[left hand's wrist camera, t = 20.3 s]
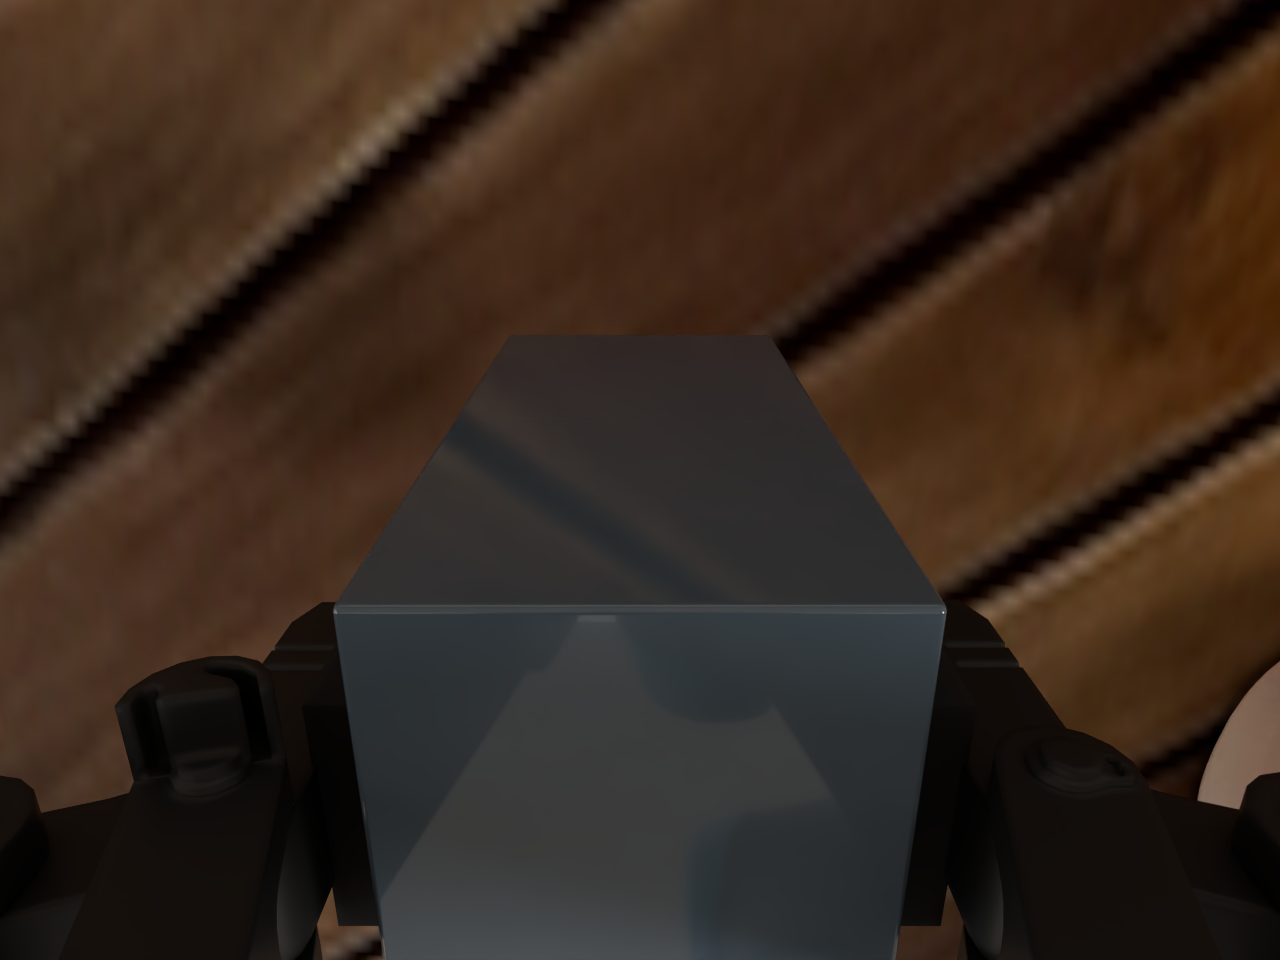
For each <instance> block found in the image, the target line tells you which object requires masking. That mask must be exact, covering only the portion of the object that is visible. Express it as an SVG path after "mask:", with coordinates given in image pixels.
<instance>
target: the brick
mask: <svg viewBox="0 0 1280 960" xmlns="http://www.w3.org/2000/svg"><path fill="white" fill-rule="evenodd" d="M946 614H947V609H946V606H945V603H944V602H943V600H942V599H941V597H940V596H939V594H938V593H937V591H936V590H935V588H934V587H933V585H932V584H931V582H930V581H929V579H928V577H927V576H926V574H925V573H924V571H923V570H922V568H921V567H920V565H919V564H918V562H917V561H916V559H915V558H914V556H913V555H912V553H911V551H910V550H909V548H908V547H907V545H906V544H905V542H904V541H903V539H902V538H901V536H900V535H899V533H898V532H897V530H896V529H895V527H894V525H893V524H892V522H891V521H890V519H889V518H888V516H887V515H886V513H885V512H884V510H883V509H882V507H881V506H880V504H879V503H878V501H877V500H876V498H875V496H874V495H873V493H872V492H871V490H870V489H869V487H868V486H867V484H866V483H865V481H864V480H863V478H862V477H861V475H860V474H859V472H858V470H857V469H856V467H855V466H854V464H853V463H852V461H851V460H850V458H849V457H848V455H847V454H846V452H845V451H844V449H843V448H842V446H841V444H840V443H839V441H838V440H837V438H836V437H835V435H834V434H833V432H832V431H831V429H830V428H829V426H828V425H827V423H826V422H825V420H824V418H823V417H822V415H821V414H820V412H819V411H818V409H817V408H816V406H815V405H814V403H813V402H812V400H811V399H810V397H809V396H808V394H807V392H806V391H805V389H804V388H803V386H802V385H801V383H800V382H799V380H798V379H797V377H796V376H795V374H794V373H793V371H792V370H791V368H790V366H789V365H788V363H787V362H786V360H785V359H784V357H783V356H782V354H781V353H780V351H779V350H778V348H777V347H776V345H775V344H774V342H773V340H772V339H771V337H770V336H767V335H512V336H509V338H508V339H507V341H506V342H505V344H504V345H503V347H502V348H501V350H500V351H499V353H498V355H497V356H496V358H495V359H494V361H493V362H492V364H491V365H490V367H489V368H488V370H487V371H486V373H485V374H484V376H483V378H482V379H481V381H480V382H479V384H478V385H477V387H476V388H475V390H474V391H473V393H472V394H471V396H470V398H469V399H468V401H467V402H466V404H465V405H464V407H463V408H462V410H461V411H460V413H459V414H458V416H457V417H456V419H455V421H454V422H453V424H452V425H451V427H450V428H449V430H448V431H447V433H446V434H445V436H444V437H443V439H442V440H441V442H440V444H439V445H438V447H437V448H436V450H435V451H434V453H433V454H432V456H431V457H430V459H429V460H428V462H427V464H426V465H425V467H424V468H423V470H422V471H421V473H420V474H419V476H418V477H417V479H416V480H415V482H414V483H413V485H412V487H411V488H410V490H409V491H408V493H407V494H406V496H405V497H404V499H403V500H402V502H401V503H400V505H399V506H398V508H397V510H396V511H395V513H394V514H393V516H392V517H391V519H390V520H389V522H388V523H387V525H386V526H385V528H384V530H383V531H382V533H381V534H380V536H379V537H378V539H377V540H376V542H375V543H374V545H373V546H372V548H371V549H370V551H369V553H368V554H367V556H366V557H365V559H364V560H363V562H362V563H361V565H360V566H359V568H358V569H357V571H356V572H355V574H354V576H353V577H352V579H351V580H350V582H349V583H348V585H347V586H346V588H345V589H344V591H343V592H342V594H341V596H340V597H339V599H338V600H337V602H336V603H335V605H334V608H333V615H334V622H335V629H336V636H337V643H338V649H339V656H340V663H341V670H342V677H343V684H344V691H345V698H346V704H347V711H348V718H349V725H350V732H351V739H352V746H353V753H354V760H355V766H356V773H357V780H358V787H359V794H360V801H361V808H362V815H363V821H364V828H365V835H366V842H367V849H368V856H369V863H370V870H371V877H372V883H373V890H374V897H375V904H376V911H377V918H378V925H379V932H380V938H381V945H382V952H383V959H384V960H896V956H897V949H898V942H899V935H900V928H901V922H902V915H903V908H904V901H905V894H906V887H907V880H908V874H909V867H910V860H911V853H912V846H913V839H914V833H915V826H916V819H917V812H918V805H919V798H920V792H921V785H922V778H923V771H924V764H925V757H926V750H927V744H928V737H929V730H930V723H931V716H932V709H933V703H934V696H935V689H936V682H937V675H938V668H939V662H940V655H941V648H942V641H943V634H944V627H945V621H946Z"/></svg>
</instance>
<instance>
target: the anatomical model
mask: <svg viewBox="0 0 1280 960" xmlns="http://www.w3.org/2000/svg"><path fill="white" fill-rule="evenodd" d="M1276 772H1280V661H1279V662H1278V663H1277V664H1276V665H1274V666H1273V667H1272V668H1271V669H1270V670H1269V671H1267V672H1266V673H1265V674H1264V675H1263V676H1262V677H1261V678H1260V679H1259V680H1258V681H1257V682H1256V683H1255V684H1254V686H1253V687H1252V688H1251V689H1250V690H1249V691H1248V692H1247V694H1246V695H1245V696H1244V698H1243V699H1242V701H1241V702H1240V703H1239V705H1238V706H1237V708H1236V709H1235V711H1234V712H1233V714H1232V715H1231V717H1230V718H1229V720H1228V722H1227V724H1226V725H1225V727H1224V729H1223V731H1222V733H1221V735H1220V737H1219V739H1218V741H1217V743H1216V745H1215V747H1214V749H1213V751H1212V754H1211V756H1210V759H1209V761H1208V764H1207V766H1206V769H1205V772H1204V775H1203V778H1202V781H1201V785H1200V789H1199V794H1198V801H1202V802H1207V803H1211V804H1216V805H1221V806H1225V807H1230V808H1235V809H1239V808H1240V805H1241V802H1242V799H1243V796H1244V793H1245V789H1246V786H1247V785H1248V784H1249V783H1251V782H1252V781H1253V780H1254V779H1256V778H1257V777H1258V776H1259V775H1263V774H1270V773H1276Z"/></svg>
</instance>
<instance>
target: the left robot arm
mask: <svg viewBox="0 0 1280 960" xmlns="http://www.w3.org/2000/svg"><path fill="white" fill-rule="evenodd" d="M942 600H943V602H944V603H945V606H946V609H947V614H946V621H945V627H944V634H943V641H942V648H941V655H940V662H939V668H938V675H937V682H936V689H935V696H934V703H933V709H932V716H931V723H930V730H929V737H928V744H927V750H926V757H925V764H924V771H923V778H922V785H921V792H920V798H919V805H918V812H917V819H916V826H915V833H914V839H913V846H912V853H911V860H910V867H909V874H908V880H907V887H906V894H905V901H904V908H903V915H902V922H901V926H941V920H942V914H943V908H944V902H945V897H946V891H947V885H949V888H950V890H951V893H952V895H953V897H954V900H955V902H956V905H957V907H958V910H959V912H960V914H961V917H962V919H963V922H964V923H963V929H962V934H961V940H960V945H959V951H958V956H957V960H1280V772H1276V773H1270V774H1263V775H1259V776H1258V777H1257V778H1256V779H1254V780H1253V781H1252V782H1251V783H1249V784H1248V785H1247V786H1246V789H1245V793H1244V796H1243V799H1242V802H1241V805H1240V808H1239V809H1235V808H1230V807H1225V806H1221V805H1216V804H1211V803H1207V802H1202V801H1197V800H1192V799H1188V798H1183V797H1178V796H1173V795H1170V794H1166V793H1163V792H1159V791H1155V790H1152V789H1150V788H1149V786H1148V783H1147V781H1146V779H1145V778H1144V777H1143V775H1142V774H1141V772H1140V771H1139V770H1138V768H1137V767H1136V765H1135V764H1134V763H1133V761H1131V760H1130V759H1129V758H1127V757H1126V756H1125V755H1123V754H1122V753H1121V752H1119V751H1118V750H1117V749H1115V748H1114V747H1113V746H1111V745H1109V744H1107V743H1105V742H1103V741H1101V740H1098V739H1096V738H1094V737H1092V736H1090V735H1087V734H1085V733H1083V732H1078V731H1074V730H1070V729H1066V728H1065V726H1064V725H1063V723H1062V722H1061V721H1060V719H1059V718H1058V716H1057V715H1056V714H1055V712H1054V711H1053V709H1052V708H1051V707H1050V705H1049V704H1048V702H1047V701H1046V700H1045V698H1044V697H1043V696H1042V694H1041V693H1040V691H1039V690H1038V689H1037V687H1036V686H1035V684H1034V683H1033V682H1032V680H1031V679H1030V677H1029V676H1028V675H1027V673H1026V672H1025V671H1024V669H1023V668H1019V662H1018V661H1017V659H1016V658H1015V657H1014V655H1013V654H1012V652H1011V651H1010V650H1009V648H1005V643H1004V641H1003V640H1002V639H1001V637H1000V636H999V634H998V633H997V632H996V630H995V629H994V627H993V626H992V625H991V623H990V622H989V621H988V619H986V618H985V617H983V616H982V615H980V614H979V613H977V612H976V611H974V610H973V609H971V608H970V607H968V606H967V605H965V604H964V603H962V602H961V601H959V600H958V599H942ZM335 603H336V602H322V603H320V604H319V605H317V606H316V607H314V608H313V609H311V610H310V611H308V612H307V613H305V614H304V615H302V616H301V617H299V618H298V619H296V620H295V621H293V622H292V623H291V624H290V626H289V627H288V629H287V630H286V631H285V633H284V634H283V636H282V637H281V638H280V640H279V641H278V643H277V644H276V645H275V651H271V652H270V654H269V655H268V657H267V658H266V659H265V661H264V662H263V664H262V663H260V662H259V661H257V660H253V659H249V658H244V657H240V656H210V657H205V658H201V659H196V660H191V661H186V662H182V663H179V664H176V665H174V666H171V667H169V668H166V669H164V670H161V671H159V672H156V673H154V674H152V675H150V676H149V677H147V678H145V679H144V680H142V681H141V682H139V683H138V684H136V685H135V686H133V687H132V688H130V689H129V690H128V691H127V692H126V693H125V694H124V696H123V697H122V698H121V699H120V700H119V701H118V703H117V704H116V705H115V710H116V714H117V718H118V721H119V725H120V729H121V733H122V737H123V741H124V744H125V748H126V752H127V756H128V760H129V763H130V767H131V771H132V775H133V779H134V783H133V785H132V787H131V790H130V792H129V793H127V794H123V795H120V796H116V797H113V798H109V799H105V800H100V801H96V802H91V803H86V804H82V805H77V806H72V807H67V808H63V809H58V810H53V811H49V812H44V813H41V811H40V808H39V805H38V801H37V798H36V795H35V792H34V789H32V788H31V787H30V786H29V785H27V784H26V783H25V782H24V781H23V780H21V779H18V778H11V777H5V776H0V960H323V959H322V953H321V946H320V940H319V934H318V929H317V922H318V920H319V917H320V915H321V913H322V910H323V908H324V905H325V903H326V900H327V898H328V895H329V893H330V891H331V888H333V894H334V900H335V906H336V912H337V918H338V924H339V926H379V925H378V918H377V911H376V904H375V897H374V890H373V883H372V877H371V870H370V863H369V856H368V849H367V842H366V835H365V828H364V821H363V815H362V808H361V801H360V794H359V787H358V780H357V773H356V766H355V760H354V753H353V746H352V739H351V732H350V725H349V718H348V711H347V704H346V698H345V691H344V684H343V677H342V670H341V663H340V656H339V649H338V643H337V636H336V629H335V622H334V615H333V608H334V605H335Z"/></svg>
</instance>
